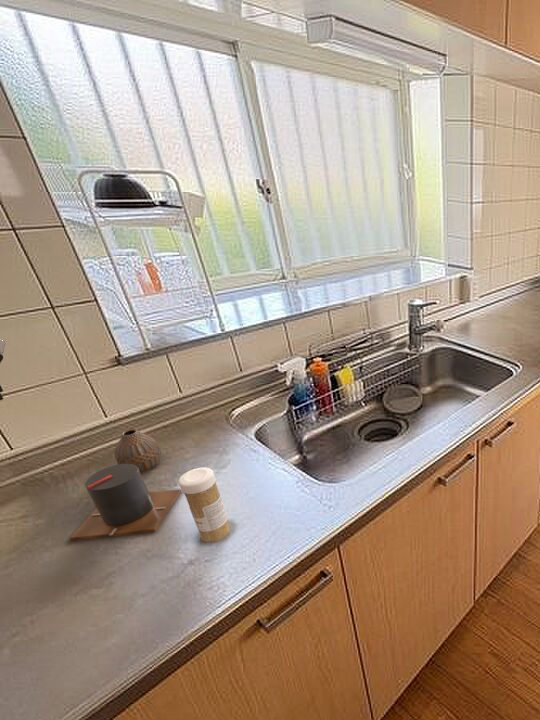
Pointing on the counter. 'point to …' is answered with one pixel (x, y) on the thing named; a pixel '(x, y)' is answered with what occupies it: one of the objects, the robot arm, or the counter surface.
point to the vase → (137, 450)
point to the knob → (119, 494)
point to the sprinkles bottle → (205, 504)
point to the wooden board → (147, 523)
